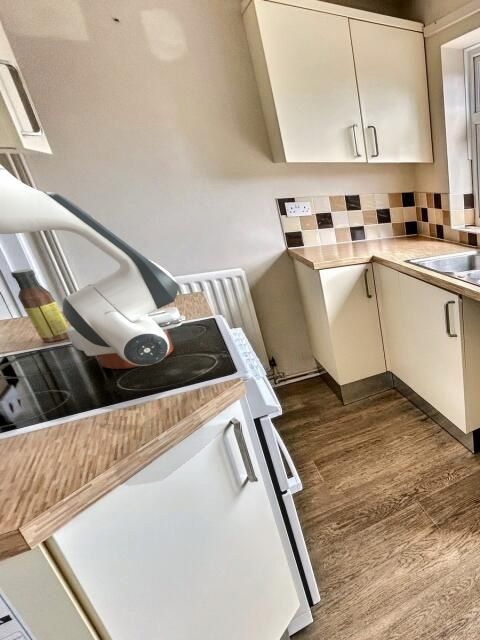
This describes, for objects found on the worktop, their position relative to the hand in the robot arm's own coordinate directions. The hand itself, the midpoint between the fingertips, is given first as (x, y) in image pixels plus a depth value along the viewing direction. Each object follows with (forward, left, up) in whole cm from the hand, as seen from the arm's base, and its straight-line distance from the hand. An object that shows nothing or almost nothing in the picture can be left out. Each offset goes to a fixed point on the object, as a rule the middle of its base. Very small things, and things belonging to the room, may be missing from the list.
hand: (123, 318), depth 103 cm
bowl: (+1, 0, -10) cm, 10 cm away
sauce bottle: (-35, +10, -11) cm, 38 cm away
